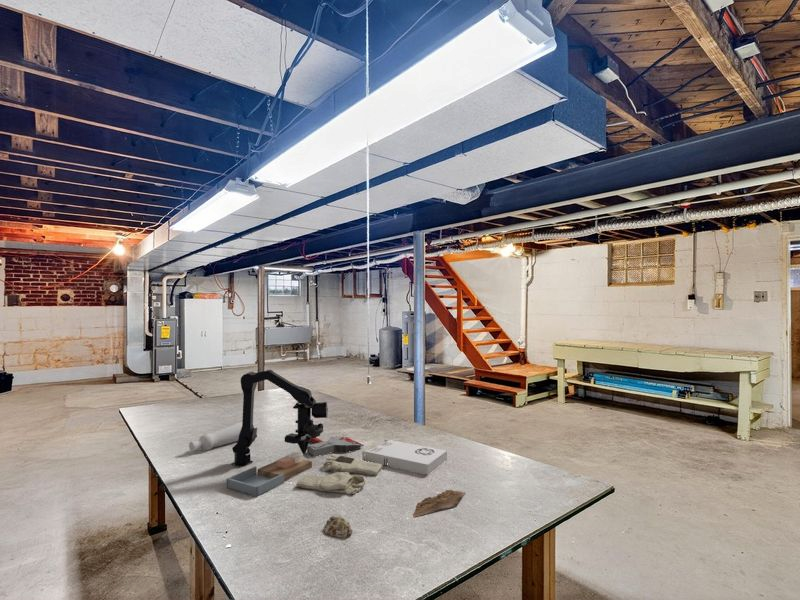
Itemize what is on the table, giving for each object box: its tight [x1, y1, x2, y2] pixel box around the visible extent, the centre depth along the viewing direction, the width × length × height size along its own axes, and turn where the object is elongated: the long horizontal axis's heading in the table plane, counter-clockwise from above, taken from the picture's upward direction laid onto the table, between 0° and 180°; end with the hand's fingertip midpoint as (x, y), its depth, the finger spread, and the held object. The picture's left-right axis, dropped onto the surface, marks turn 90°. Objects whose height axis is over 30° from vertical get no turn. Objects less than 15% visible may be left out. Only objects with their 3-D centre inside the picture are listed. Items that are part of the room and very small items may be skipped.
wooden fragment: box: [412, 489, 466, 518], centre depth 141 cm, size 26×11×1 cm, turn 129°
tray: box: [226, 466, 285, 498], centre depth 156 cm, size 16×14×4 cm
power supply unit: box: [361, 439, 448, 475], centre depth 181 cm, size 19×33×5 cm, turn 59°
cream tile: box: [285, 451, 304, 464], centre depth 175 cm, size 5×5×2 cm
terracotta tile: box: [276, 455, 294, 468], centre depth 170 cm, size 5×5×2 cm
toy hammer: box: [306, 436, 364, 458], centre depth 202 cm, size 24×4×30 cm
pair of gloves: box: [296, 453, 383, 495], centre depth 163 cm, size 30×26×5 cm
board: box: [257, 458, 313, 482], centre depth 170 cm, size 14×17×2 cm
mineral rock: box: [323, 515, 353, 539], centre depth 124 cm, size 11×4×8 cm
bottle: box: [188, 421, 242, 453], centre depth 203 cm, size 9×9×30 cm
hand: (304, 453), depth 180 cm, fingers closed
